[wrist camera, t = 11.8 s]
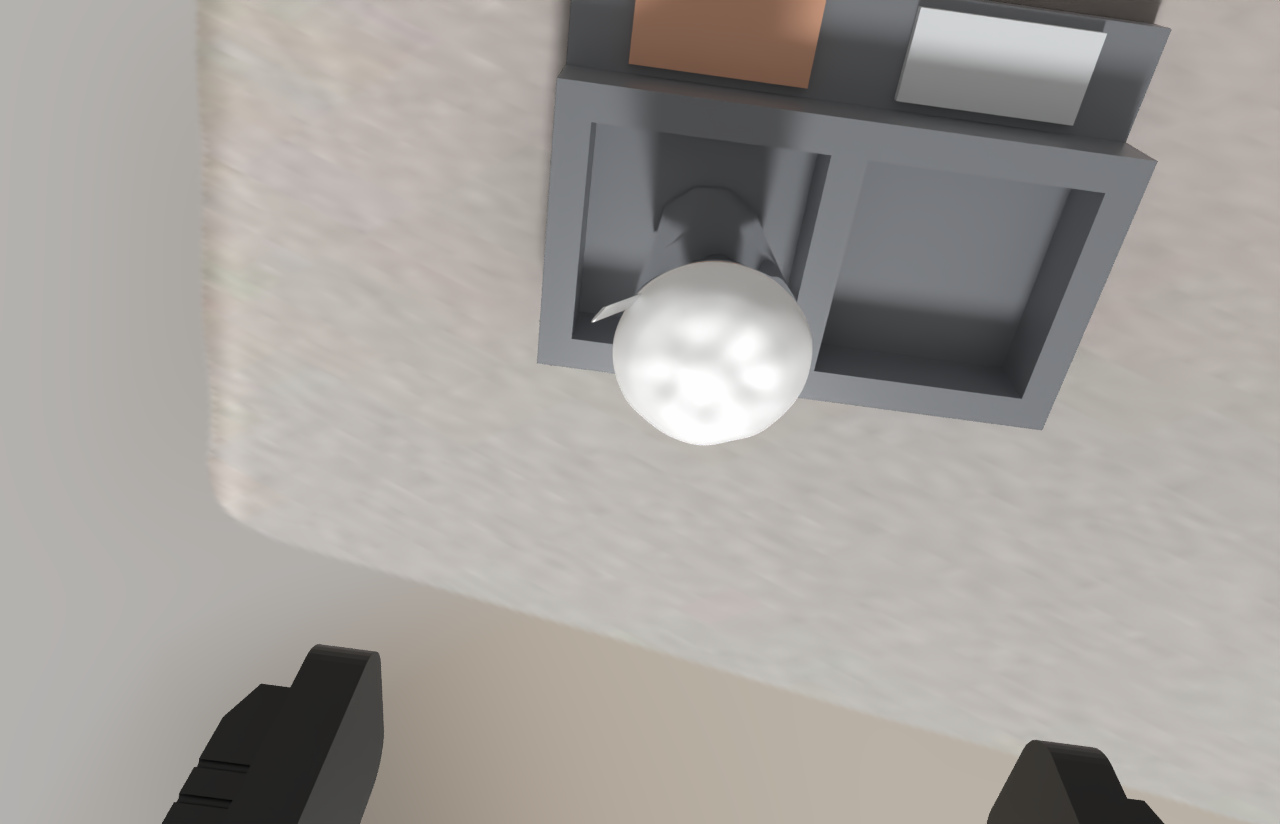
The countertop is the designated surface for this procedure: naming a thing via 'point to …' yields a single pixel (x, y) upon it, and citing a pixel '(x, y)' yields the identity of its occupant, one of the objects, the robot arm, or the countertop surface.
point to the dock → (861, 180)
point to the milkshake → (710, 325)
